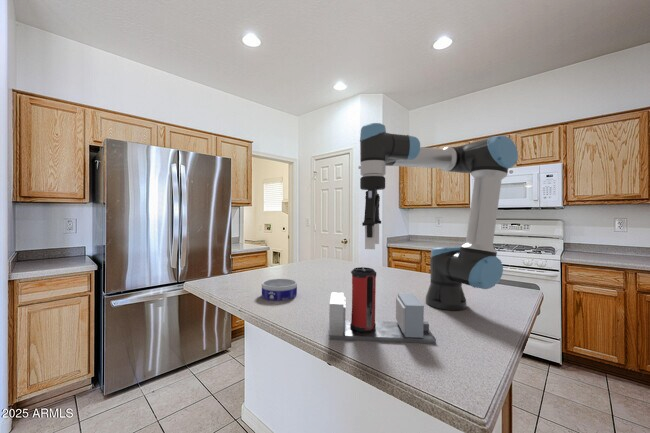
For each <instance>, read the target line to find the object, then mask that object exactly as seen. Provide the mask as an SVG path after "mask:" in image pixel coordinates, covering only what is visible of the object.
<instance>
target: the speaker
mask: <svg viewBox="0 0 650 433" xmlns="http://www.w3.org/2000/svg"><path fill="white" fill-rule="evenodd" d="M350 273H351V285H352V286H351V287H352V288H351V290H352V291H351V292H352V293H351V319H350V320H351V324H350V326H351V328H352V329H354V330H356V331H359V332H361V331H363V332H370V331H372V330H374V329H375V328H376V324H375V321H376V286H377V284H376V283H377V282H376V281H377V280H376V278H377V271H375V269H373V268H370V267H363V266H362V267H359V266H358V267H355V268H353V269H352V270H351V271H350Z"/></svg>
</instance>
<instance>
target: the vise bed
mask: <svg viewBox="0 0 650 433" xmlns="http://www.w3.org/2000/svg"><path fill="white" fill-rule="evenodd" d="M350 324H351V319H350V320H349V319H345V332H344V331H343V336H339V335H328V337H329V338H328V340H337V341H365V342H366V341H367V342H384V343H385V342H389V343H391V342H392V343H410V344H411V343H413V344H437V338H436V337H435V336H434V335H433V333H432V331H431V330H430V329H429V331H423V338H416V337H405V336H404V333H403V332H402V330H401V328H400V326H399V324H398V322H397V321H382V320H381V321H380V320H378V321H377V320H375V324H376V328H375V329H374V330H372V331H370V332H363V331H361V332H359V331H356V330H354V329H352V328H351V326H350Z"/></svg>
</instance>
